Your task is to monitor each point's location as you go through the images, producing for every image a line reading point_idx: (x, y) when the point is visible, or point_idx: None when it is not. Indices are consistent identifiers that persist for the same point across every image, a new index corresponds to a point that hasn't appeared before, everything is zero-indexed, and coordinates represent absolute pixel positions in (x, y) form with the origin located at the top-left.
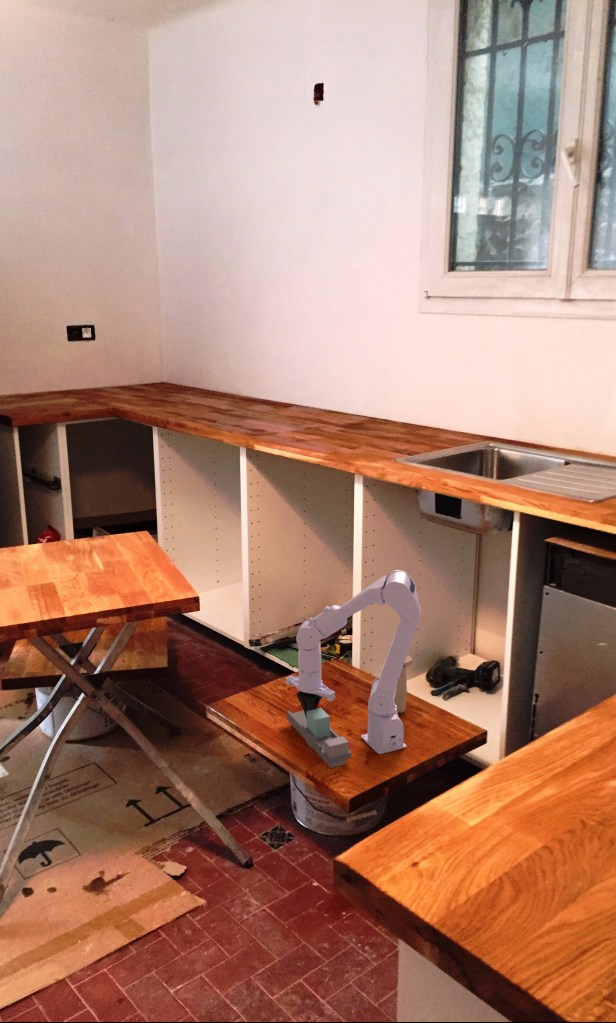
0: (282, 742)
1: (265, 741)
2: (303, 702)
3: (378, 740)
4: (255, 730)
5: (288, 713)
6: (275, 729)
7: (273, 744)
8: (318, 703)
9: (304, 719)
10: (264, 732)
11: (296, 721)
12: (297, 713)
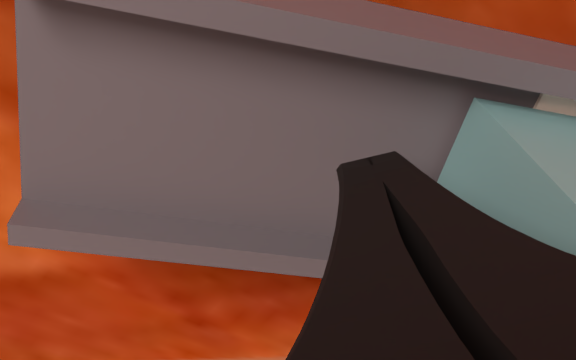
0: (279, 294)
1: (202, 357)
2: None
3: None
4: (31, 350)
5: (60, 243)
6: (84, 255)
7: (264, 339)
8: (529, 242)
9: (224, 139)
10: (88, 322)
11: (274, 272)
12: (56, 127)
